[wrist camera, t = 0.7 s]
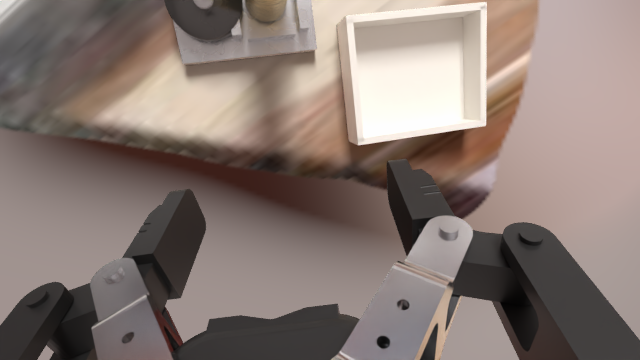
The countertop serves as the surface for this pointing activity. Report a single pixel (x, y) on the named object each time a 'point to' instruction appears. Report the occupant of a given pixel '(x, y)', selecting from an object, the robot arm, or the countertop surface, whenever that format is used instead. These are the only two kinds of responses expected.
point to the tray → (413, 71)
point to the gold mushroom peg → (266, 9)
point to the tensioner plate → (239, 30)
